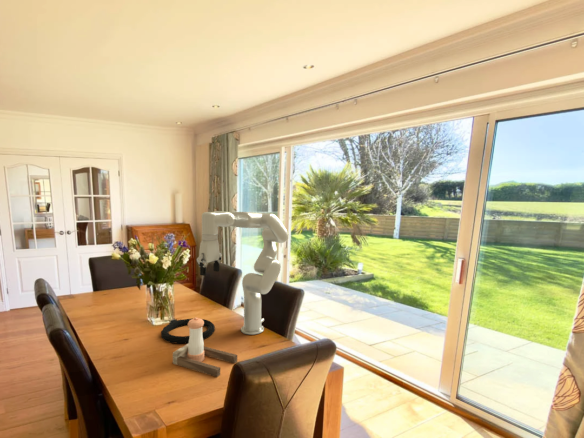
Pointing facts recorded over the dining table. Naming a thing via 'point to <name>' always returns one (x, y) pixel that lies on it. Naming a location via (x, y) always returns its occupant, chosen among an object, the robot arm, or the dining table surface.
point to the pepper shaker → (196, 340)
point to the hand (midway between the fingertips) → (210, 273)
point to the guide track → (183, 361)
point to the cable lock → (184, 339)
